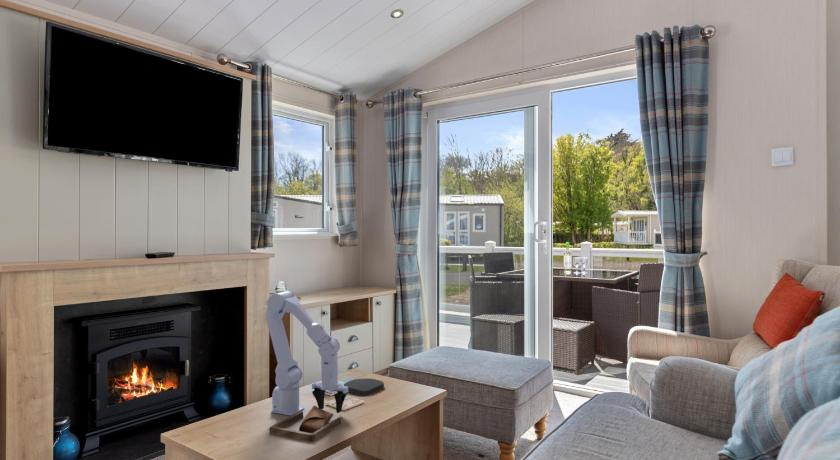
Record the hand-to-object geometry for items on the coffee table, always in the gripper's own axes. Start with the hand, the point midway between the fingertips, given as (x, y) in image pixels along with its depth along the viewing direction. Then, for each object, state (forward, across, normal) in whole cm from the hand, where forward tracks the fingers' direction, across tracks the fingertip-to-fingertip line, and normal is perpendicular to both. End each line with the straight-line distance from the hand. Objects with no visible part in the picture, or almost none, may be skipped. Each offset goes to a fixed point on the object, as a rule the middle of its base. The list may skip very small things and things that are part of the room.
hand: (330, 410), depth 183 cm
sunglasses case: (+2, 0, -8) cm, 9 cm away
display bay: (+1, 0, -14) cm, 14 cm away
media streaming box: (+2, -4, +30) cm, 30 cm away
